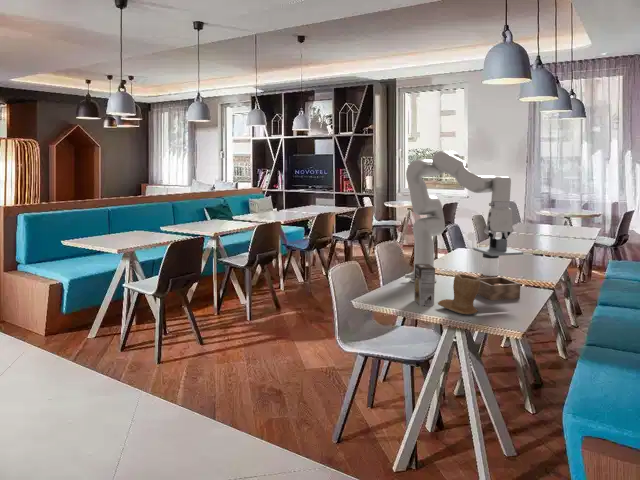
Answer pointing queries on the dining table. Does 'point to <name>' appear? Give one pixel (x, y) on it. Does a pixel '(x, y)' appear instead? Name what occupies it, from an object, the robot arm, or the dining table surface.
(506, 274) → the dining table surface
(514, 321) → the dining table surface
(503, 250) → the lid
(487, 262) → the jar
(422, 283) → the coffee box
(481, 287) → the box
